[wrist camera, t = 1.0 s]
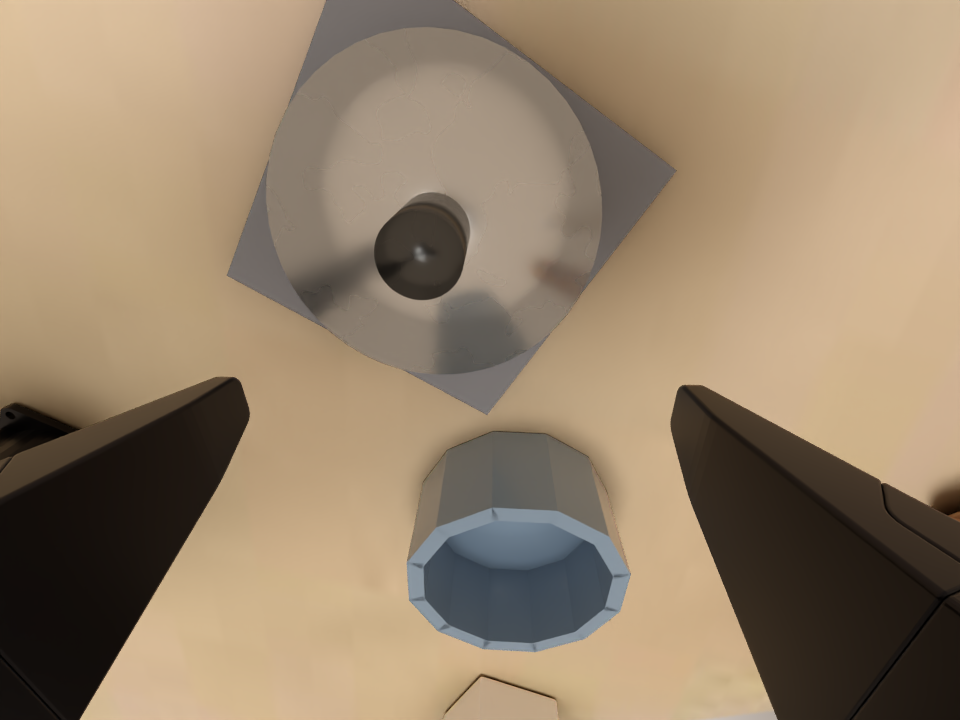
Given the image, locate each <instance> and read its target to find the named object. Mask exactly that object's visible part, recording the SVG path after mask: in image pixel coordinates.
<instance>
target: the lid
mask: <svg viewBox="0 0 960 720" xmlns="http://www.w3.org/2000/svg"><path fill="white" fill-rule="evenodd" d="M266 205H267V213H268V222H269V227H270V231H271V235H272V239H273V243H274V247H275V249H276V252H277V255H278V257H279V260H280V263H281V265H282V268H283V269H284V271H285V273H286V275H287V277H288V279H289V281H290V283H291V285H292V287H293V288H294V290H295V291H296V293H297V294H298V296H299V297H300V299H301V300H302V302H303V303H304V304H305V305H306V307H307V308H308V309H309V310H310V311H311V312H312V314H313V315H314V316H315V317H316V318H317V319H318V320H319V321H320V322H321V323H322V324H323V325H324V326H325V327H326V328H327V329H328V330H329V331H330V332H331V333H333V334H334V335H335V336H336V337H338V338H339V339H340V340H342V341H343V342H344V343H346V344H347V345H349V346H350V347H352V348H354V349H355V350H357V351H359V352H360V353H362V354H364V355H366V356H368V357H370V358H372V359H374V360H376V361H379V362H381V363H384V364H387V365H390V366H393V367H396V368H399V369H403V370H407V371H412V372H417V373H426V374H436V375H439V374H461V373H469V372H475V371H479V370H483V369H487V368H491V367H493V366H496V365H499V364H501V363H504V362H506V361H509V360H511V359H513V358H515V357H516V356H518V355H520V354H522V353H524V352H526V351H527V350H529V349H530V348H531V347H533V346H534V345H536V344H537V343H539V342H540V341H541V340H542V339H544V338H545V337H546V336H547V335H548V334H549V333H550V332H551V331H553V330H554V329H555V328H556V327H557V325H558V324H559V323H560V322H561V321H562V320H563V319H564V317H565V316H566V315H567V314H568V313H569V311H570V310H571V308H572V307H573V305H574V304H575V302H576V301H577V299H578V298H579V296H580V294H581V292H582V290H583V288H584V286H585V284H586V282H587V280H588V278H589V275H590V273H591V270H592V267H593V264H594V262H595V259H596V254H597V250H598V245H599V241H600V234H601V223H602V195H601V187H600V181H599V175H598V169H597V165H596V162H595V159H594V156H593V152H592V149H591V146H590V143H589V141H588V139H587V137H586V135H585V132H584V130H583V128H582V126H581V124H580V122H579V120H578V118H577V117H576V115H575V114H574V112H573V111H572V109H571V108H570V106H569V104H568V103H567V101H566V100H565V99H564V97H563V96H562V95H561V94H560V93H559V92H558V90H557V89H556V88H555V87H554V86H553V85H552V83H551V82H550V81H549V80H548V79H547V78H546V77H545V76H543V75H542V74H541V73H540V72H539V71H538V70H537V69H536V68H534V67H533V66H532V65H531V64H530V63H529V62H527V61H526V60H524V59H523V58H521V57H519V56H518V55H516V54H515V53H513V52H512V51H510V50H509V49H507V48H505V47H503V46H501V45H499V44H496V43H494V42H492V41H490V40H488V39H485V38H483V37H480V36H476V35H473V34H469V33H466V32H462V31H459V30H452V29H444V28H435V27H419V28H403V29H398V30H394V31H389V32H384V33H379V34H377V35H374V36H372V37H369V38H367V39H364V40H361V41H359V42H356V43H354V44H353V45H351V46H349V47H348V48H346V49H344V50H343V51H341V52H339V53H338V54H336V55H334V56H333V57H332V58H331V59H329V60H328V61H327V62H326V63H325V64H323V65H322V66H321V67H320V68H319V69H317V70H316V71H315V72H314V73H313V74H312V75H311V77H310V78H309V79H308V80H307V81H306V82H305V83H304V85H303V86H302V87H301V88H300V89H299V90H298V92H297V94H296V95H295V97H294V98H293V100H292V101H291V103H290V105H289V106H288V108H287V109H286V111H285V113H284V116H283V118H282V120H281V122H280V125H279V127H278V129H277V131H276V134H275V138H274V141H273V145H272V148H271V152H270V155H269V163H268V170H267V177H266Z"/></svg>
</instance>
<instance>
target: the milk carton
mask: <svg viewBox="0 0 960 720" xmlns="http://www.w3.org/2000/svg"><path fill="white" fill-rule="evenodd" d="M443 720H558V710H557V702H556V700H554V699H552V698H549V697H546V696H542V695H539V694H536V693H533V692H530V691H527V690H524V689H520V688H517V687H514V686H511V685H508V684H505V683H501V682H498V681H495V680H492V679H489V678H485V677H480V678H479V679H478V680H477V681H476V682H475V683H474V684H473V685H472V686H471V687H470V688H469V689H468V690H467V692H466V693H465V694H464V695H463V696H462V697H461V698H460V699H459V700H458V701H457V702H456V703H455V704H454V705H453V706H452V707H451V708H450V709H449V711H448V712H447V713H446V714H445V715H444V719H443Z"/></svg>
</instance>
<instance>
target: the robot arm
mask: <svg viewBox="0 0 960 720" xmlns="http://www.w3.org/2000/svg"><path fill="white" fill-rule="evenodd" d="M249 417H250V411H249V407H248V403H247V400H246V397H245V394H244V391H243V388H242V385H241V382H240V381H239V380H238V379H237V378H235V377H215V378H212V379H209V380H207V381H204V382H202V383H199V384H196V385H194V386H191V387H189V388H186V389H184V390H181V391H178V392H176V393H173V394H171V395H168V396H166V397H163V398H160V399H158V400H155V401H153V402H150V403H147V404H145V405H142V406H140V407H137V408H135V409H132V410H129V411H127V412H124V413H122V414H119V415H117V416H114V417H111V418H109V419H106V420H104V421H101V422H99V423H96V424H93V425H91V426H88V427H86V428H83V429H80V430H76V429H73V428H71V427H69V426H66V425H64V424H62V423H59V422H57V421H55V420H52V419H50V418H48V417H45V416H43V415H40V414H38V413H36V412H33V411H31V410H29V409H26V408H24V407H22V406H19V405H16V404H10V405H8V406H6V407H5V408H3V409H1V411H0V720H80V718H81V716H82V715H83V713H84V711H85V710H86V708H87V706H88V705H89V703H90V701H91V700H92V698H93V696H94V695H95V693H96V691H97V689H98V688H99V686H100V684H101V683H102V681H103V679H104V678H105V676H106V674H107V673H108V671H109V669H110V668H111V666H112V664H113V663H114V661H115V659H116V657H117V656H118V654H119V652H120V651H121V649H122V647H123V646H124V644H125V642H126V641H127V639H128V637H129V636H130V634H131V632H132V631H133V629H134V627H135V625H136V624H137V622H138V620H139V619H140V617H141V615H142V614H143V612H144V610H145V609H146V607H147V605H148V604H149V602H150V600H151V599H152V597H153V595H154V593H155V592H156V590H157V588H158V587H159V585H160V583H161V582H162V580H163V578H164V577H165V575H166V573H167V572H168V570H169V568H170V567H171V565H172V563H173V562H174V560H175V558H176V556H177V555H178V553H179V551H180V550H181V548H182V546H183V545H184V543H185V541H186V540H187V538H188V536H189V535H190V533H191V531H192V530H193V528H194V526H195V524H196V523H197V521H198V519H199V518H200V516H201V514H202V513H203V511H204V509H205V508H206V506H207V504H208V503H209V501H210V499H211V498H212V496H213V494H214V492H215V491H216V489H217V487H218V485H219V484H220V482H221V480H222V478H223V476H224V474H225V472H226V470H227V467H228V465H229V463H230V461H231V459H232V456H233V454H234V452H235V450H236V448H237V445H238V443H239V441H240V439H241V437H242V435H243V432H244V430H245V428H246V426H247V424H248V421H249ZM671 432H672V436H673V440H674V444H675V447H676V451H677V455H678V459H679V463H680V466H681V470H682V474H683V478H684V482H685V485H686V489H687V492H688V496H689V498H690V501H691V504H692V507H693V509H694V512H695V514H696V517H697V519H698V522H699V524H700V527H701V529H702V532H703V534H704V537H705V539H706V542H707V544H708V547H709V549H710V552H711V554H712V557H713V559H714V562H715V564H716V567H717V569H718V572H719V574H720V577H721V579H722V582H723V584H724V587H725V589H726V592H727V594H728V597H729V599H730V602H731V604H732V607H733V609H734V612H735V614H736V617H737V619H738V622H739V624H740V627H741V629H742V632H743V634H744V637H745V639H746V642H747V644H748V647H749V649H750V652H751V654H752V657H753V659H754V662H755V664H756V667H757V669H758V672H759V674H760V677H761V679H762V682H763V684H764V687H765V689H766V692H767V694H768V697H769V699H770V702H771V704H772V707H773V709H774V712H775V714H776V717H777V719H778V720H960V522H959V521H957V520H955V519H953V518H951V517H949V516H947V515H945V514H944V513H942V512H940V511H938V510H936V509H934V508H932V507H930V506H928V505H926V504H924V503H922V502H920V501H918V500H916V499H915V498H913V497H911V496H909V495H907V494H905V493H903V492H901V491H899V490H898V489H896V488H894V487H892V486H890V485H888V484H886V483H882V484H881V481H880V480H879V479H877V478H875V477H873V476H871V475H869V474H867V473H866V472H864V471H862V470H860V469H858V468H856V467H854V466H852V465H851V464H849V463H847V462H845V461H843V460H841V459H839V458H838V457H836V456H834V455H832V454H830V453H828V452H826V451H824V450H823V449H821V448H819V447H817V446H815V445H813V444H811V443H809V442H808V441H806V440H804V439H802V438H800V437H798V436H796V435H794V434H793V433H791V432H789V431H787V430H785V429H783V428H781V427H779V426H778V425H776V424H774V423H772V422H770V421H768V420H766V419H764V418H763V417H761V416H759V415H757V414H755V413H753V412H751V411H750V410H748V409H746V408H744V407H742V406H740V405H738V404H736V403H735V402H733V401H731V400H729V399H727V398H725V397H723V396H721V395H720V394H718V393H716V392H714V391H712V390H710V389H708V388H706V387H705V386H702V385H682V386H681V387H679V389H678V391H677V395H676V399H675V403H674V408H673V412H672V416H671Z"/></svg>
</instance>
